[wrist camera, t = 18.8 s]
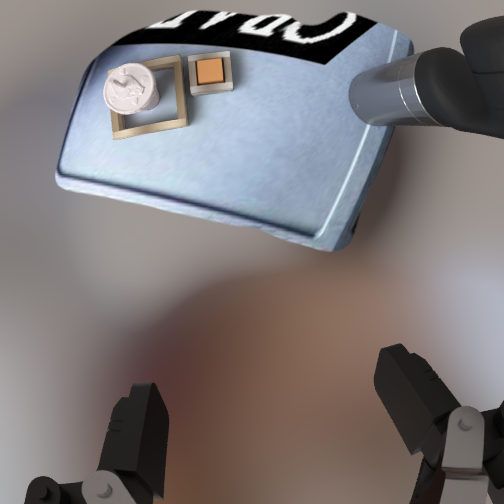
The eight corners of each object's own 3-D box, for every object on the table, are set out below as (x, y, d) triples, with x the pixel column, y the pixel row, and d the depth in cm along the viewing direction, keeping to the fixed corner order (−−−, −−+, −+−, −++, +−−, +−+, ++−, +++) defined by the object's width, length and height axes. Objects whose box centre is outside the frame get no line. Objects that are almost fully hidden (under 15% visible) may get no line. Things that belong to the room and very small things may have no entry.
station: (228, 54, 35) (229, 48, 32) (235, 120, 39) (236, 119, 36) (114, 74, 34) (107, 70, 31) (120, 139, 38) (113, 139, 35)
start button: (221, 62, 35) (221, 58, 32) (223, 83, 36) (223, 79, 33) (198, 65, 34) (196, 61, 32) (199, 85, 35) (198, 82, 33)
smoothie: (135, 74, 35) (100, 49, 22) (175, 82, 36) (155, 57, 23) (121, 114, 37) (80, 105, 24) (160, 123, 38) (133, 115, 25)
